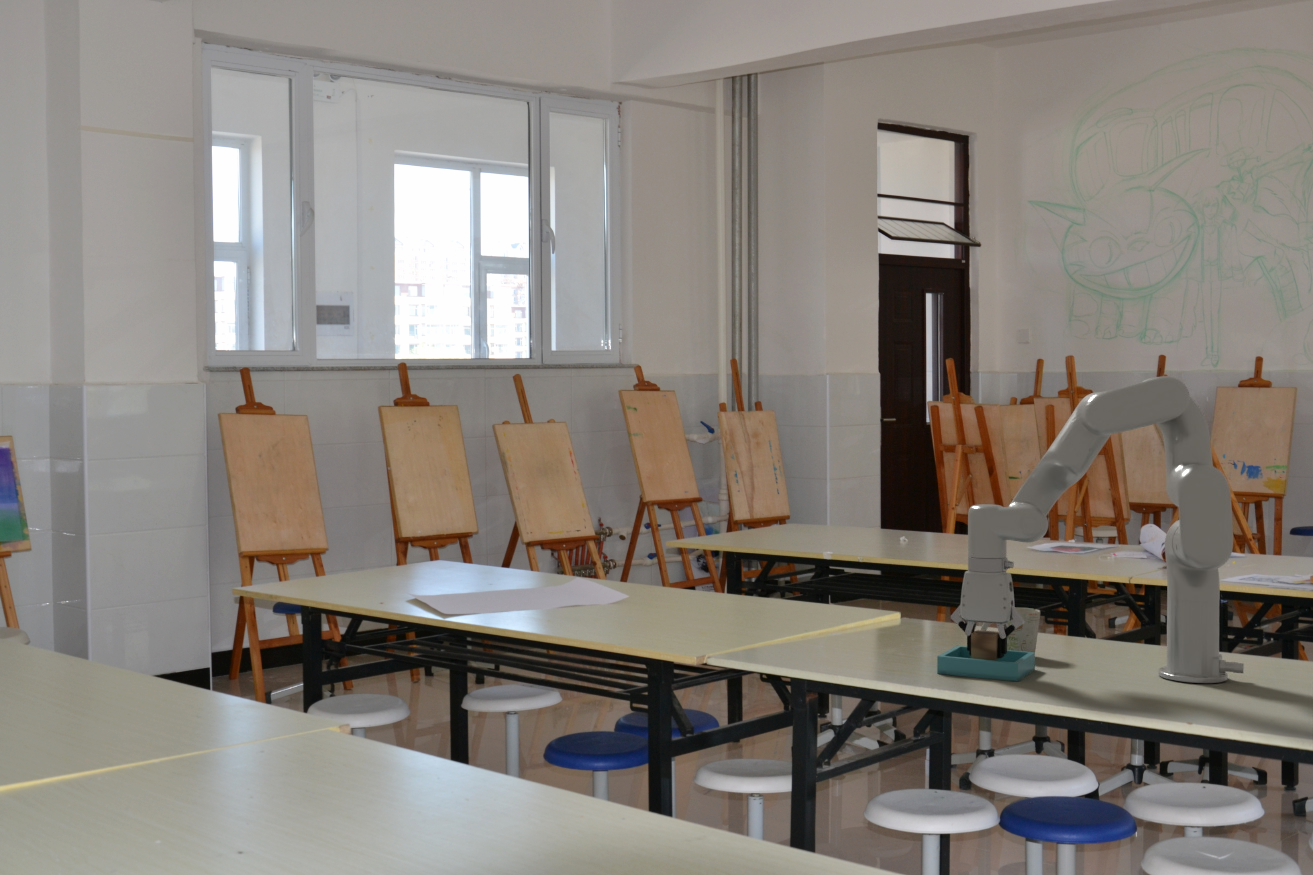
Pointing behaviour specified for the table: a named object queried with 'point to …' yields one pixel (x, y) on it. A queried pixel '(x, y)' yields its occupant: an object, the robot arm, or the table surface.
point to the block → (984, 645)
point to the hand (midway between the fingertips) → (986, 654)
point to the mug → (1022, 631)
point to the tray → (986, 665)
